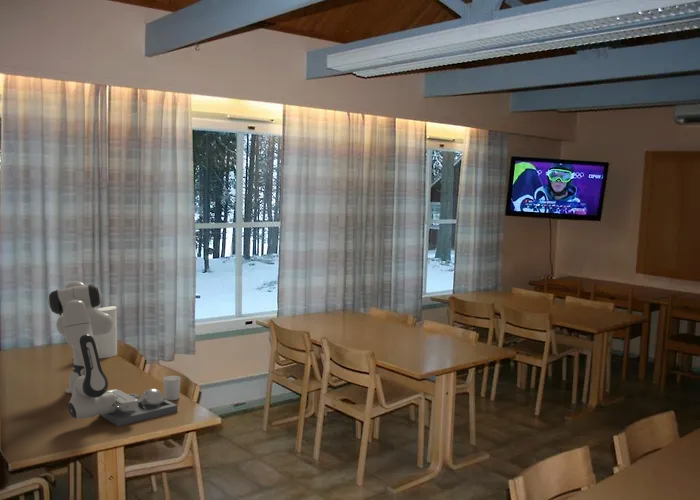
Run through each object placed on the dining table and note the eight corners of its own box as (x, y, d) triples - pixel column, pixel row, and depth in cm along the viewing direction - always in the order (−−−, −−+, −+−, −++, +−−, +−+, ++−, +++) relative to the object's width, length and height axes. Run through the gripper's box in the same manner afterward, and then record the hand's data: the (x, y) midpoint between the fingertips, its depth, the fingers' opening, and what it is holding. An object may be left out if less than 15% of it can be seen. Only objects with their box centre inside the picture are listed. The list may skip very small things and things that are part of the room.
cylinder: (123, 353, 401) (122, 307, 398) (98, 359, 386) (98, 311, 383) (104, 349, 410) (103, 304, 407) (79, 355, 395) (78, 308, 392)
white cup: (160, 397, 322) (160, 377, 321) (176, 394, 327) (176, 374, 326) (168, 401, 316) (167, 381, 315) (183, 398, 321) (183, 378, 320)
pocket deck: (117, 426, 284) (117, 419, 284) (99, 415, 297) (99, 408, 297) (177, 411, 303) (177, 405, 303) (158, 401, 316) (157, 395, 316)
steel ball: (145, 384, 309) (152, 403, 311) (133, 396, 300) (140, 415, 302) (164, 383, 305) (170, 403, 308) (152, 395, 296) (158, 415, 299)
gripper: (118, 401, 282) (149, 394, 291) (98, 389, 297) (128, 383, 306) (119, 416, 283) (149, 408, 292) (98, 403, 297) (128, 397, 307)
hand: (138, 396), depth 299 cm, fingers closed
